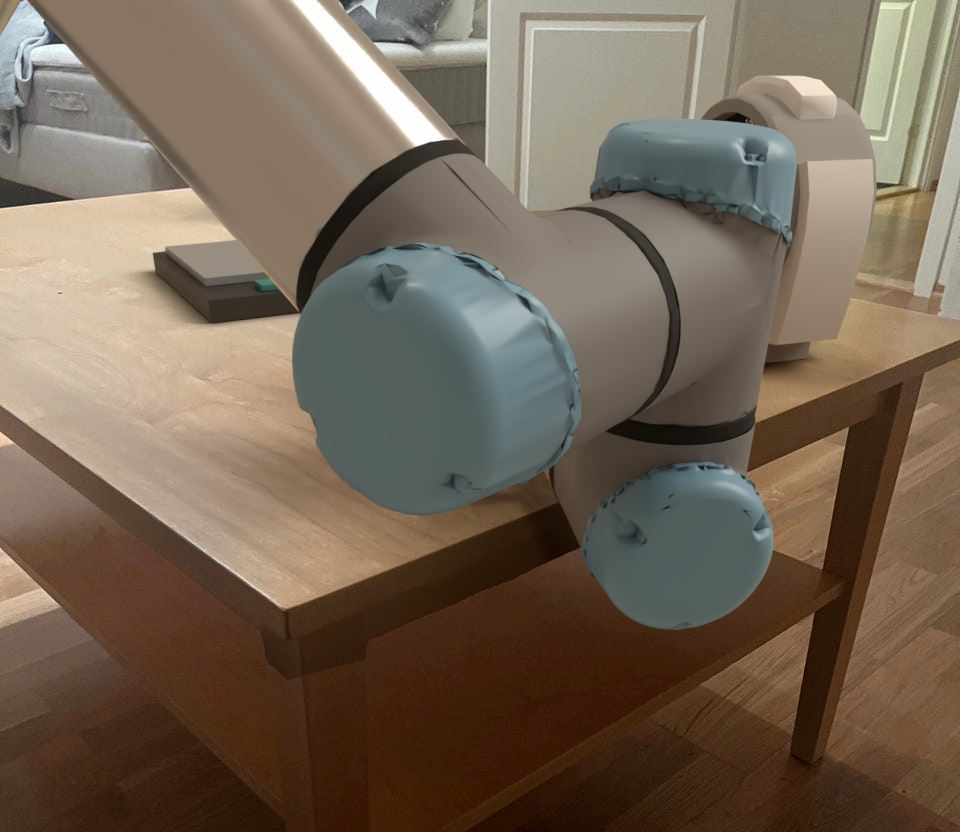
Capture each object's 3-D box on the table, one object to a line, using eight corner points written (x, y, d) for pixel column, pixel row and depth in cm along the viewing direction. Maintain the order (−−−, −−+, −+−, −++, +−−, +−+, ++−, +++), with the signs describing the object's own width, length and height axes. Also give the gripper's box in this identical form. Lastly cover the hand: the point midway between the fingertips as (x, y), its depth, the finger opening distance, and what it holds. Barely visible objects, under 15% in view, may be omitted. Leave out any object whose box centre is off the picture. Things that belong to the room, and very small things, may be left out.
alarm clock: (651, 318, 92) (680, 67, 81) (730, 311, 95) (768, 67, 84) (763, 380, 78) (816, 87, 67) (852, 370, 81) (917, 86, 70)
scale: (155, 272, 103) (151, 244, 101) (302, 258, 110) (300, 231, 108) (211, 323, 88) (207, 290, 87) (377, 302, 95) (376, 272, 94)
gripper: (368, 503, 54) (350, 374, 71) (806, 482, 57) (686, 363, 75) (362, 366, 50) (345, 264, 67) (834, 352, 53) (700, 259, 71)
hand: (524, 316), depth 71 cm, fingers open, 13 cm apart
